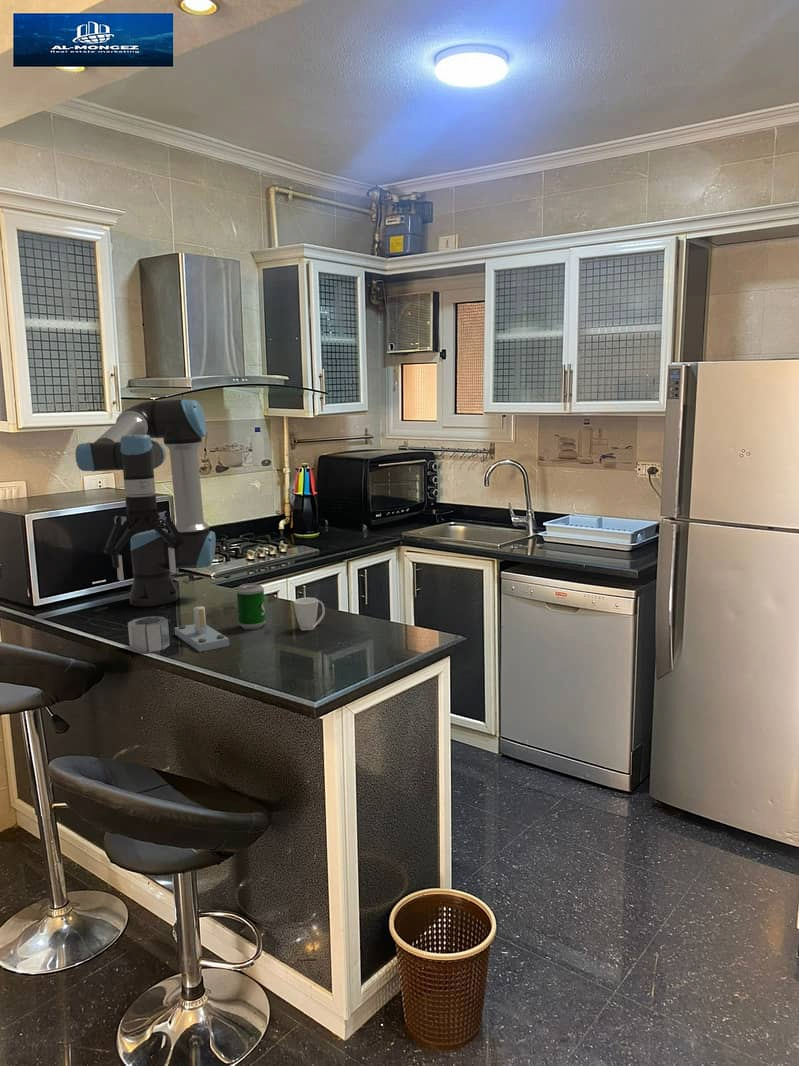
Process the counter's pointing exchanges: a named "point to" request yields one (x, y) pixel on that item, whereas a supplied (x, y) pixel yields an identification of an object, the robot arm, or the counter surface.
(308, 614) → the cup
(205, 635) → the block
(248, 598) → the soda can
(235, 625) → the counter surface
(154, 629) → the grey hollow octagonal piece
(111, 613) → the counter surface
